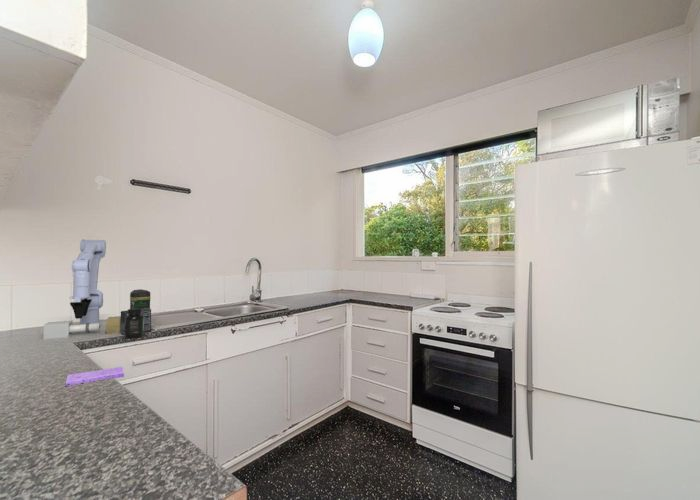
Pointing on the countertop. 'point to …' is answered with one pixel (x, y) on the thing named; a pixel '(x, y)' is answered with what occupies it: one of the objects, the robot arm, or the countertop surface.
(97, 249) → the robot arm
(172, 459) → the countertop surface
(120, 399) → the countertop surface
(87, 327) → the tube
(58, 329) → the light grey block
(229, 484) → the countertop surface
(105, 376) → the sponges
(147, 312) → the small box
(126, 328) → the supplement bottle
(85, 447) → the countertop surface
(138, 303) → the coffee jar
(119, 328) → the socket
